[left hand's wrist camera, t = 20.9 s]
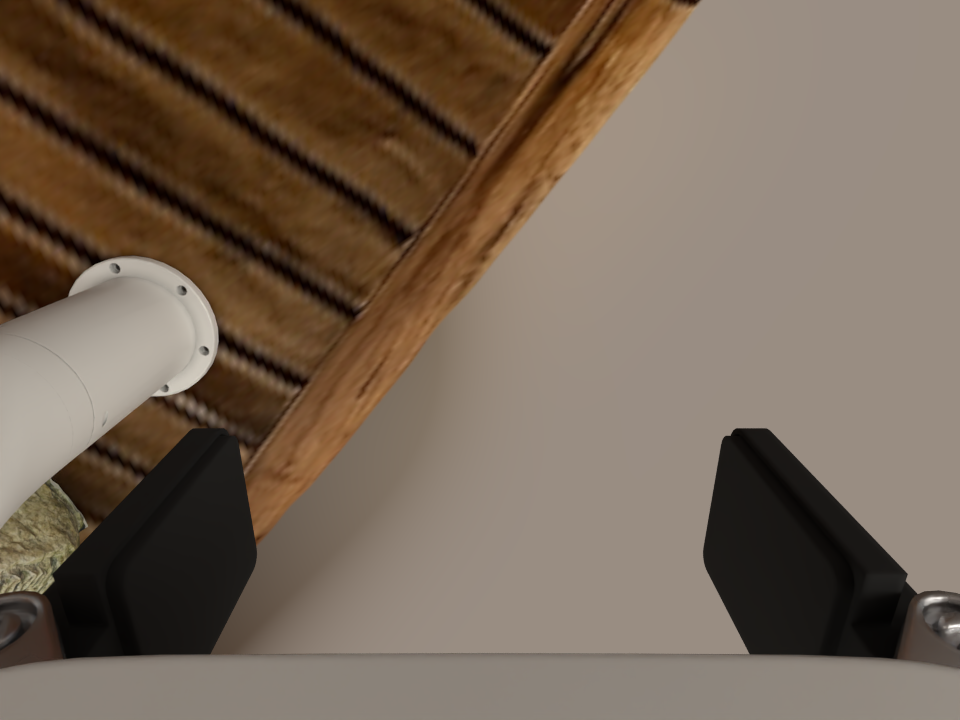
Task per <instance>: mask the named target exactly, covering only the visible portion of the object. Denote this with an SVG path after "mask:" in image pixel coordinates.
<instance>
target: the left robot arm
mask: <svg viewBox="0 0 960 720" xmlns="http://www.w3.org/2000/svg"><path fill="white" fill-rule="evenodd" d="M118 265H119V266H118ZM119 267H120V268H119ZM184 287H185V288H186V290H185V289H184ZM218 342H219V339H218V327H217V323H216V319H215V315H214V313H213V311H212V309H211V306H210V304H209V302H208V301H207V299H206V298H205V296H204V295H203V294H202V292H201V291H200V289H199V288H198V287H197V286H196V285H195V284H194V283H193V282H192V281H191V280H190V279H189V278H187V277H186V276H185V275H183V274H182V273H181V272H179V271H178V270H176V269H174V268H173V267H171V266H169V265H167V264H165V263H163V262H160V261H157V260H154V259H151V258H146V257H139V256H120V257H116V258H112V259H107V260H105V261H102V262H100V263H97V264H95V265H93V266H92V267H90V268H89V269H87V270H86V271H84V272H83V273H82V274H81V275H80V276H79V278H78V279H77V280H76V281H75V283H74V285H73V286H72V288H71V290H70V292H69V296H68V297H67V298H65V299H62V300H60V301H57V302H55V303H52V304H50V305H47V306H45V307H42V308H40V309H37V310H35V311H33V312H30V313H28V314H25V315H23V316H20V317H18V318H15V319H13V320H10V321H8V322H5V323H3V324H1V325H0V529H1V528H2V526H3V525H4V524H5V523H6V522H7V520H8V519H9V518H10V517H11V516H12V515H13V513H14V512H15V511H16V510H17V509H18V508H19V507H20V506H21V505H22V504H23V503H24V502H25V501H26V500H27V499H28V498H29V497H30V496H31V495H32V494H33V493H34V492H35V491H36V490H38V489H39V488H40V487H41V486H42V485H43V484H44V483H45V482H47V481H48V480H49V479H50V478H51V477H52V476H54V475H55V474H56V473H57V472H58V471H59V470H61V469H62V468H63V467H64V466H65V465H67V464H68V463H69V462H70V461H72V460H73V459H74V458H75V457H77V456H78V455H79V454H80V453H82V452H83V451H84V450H85V449H87V448H88V447H89V446H90V445H91V444H93V443H94V442H95V441H96V440H98V439H99V438H100V437H101V436H103V435H104V434H105V433H106V432H107V431H109V430H110V429H111V428H112V427H114V426H115V425H116V424H117V423H118V422H120V421H121V420H122V419H123V418H125V417H126V416H127V415H128V414H130V413H131V412H132V411H133V410H134V409H136V408H137V407H138V406H139V405H141V404H142V403H143V402H144V401H146V400H147V399H148V398H149V397H150V396H166V395H171V394H176V393H179V392H181V391H183V390H185V389H188V388H189V387H191V386H192V385H193V384H195V383H196V382H198V381H199V380H200V379H201V378H202V377H203V376H204V375H205V374H206V373H207V371H208V370H209V368H210V367H211V365H212V364H213V361H214V359H215V356H216V354H217V348H218ZM206 347H207V348H208V349H209V350H208V349H207V348H206ZM256 558H257V549H256V543H255V537H254V531H253V525H252V519H251V513H250V508H249V502H248V496H247V490H246V484H245V478H244V472H243V467H242V461H241V455H240V449H239V444H238V440H237V438H236V437H235V436H229V434H228V432H227V430H225V429H224V428H195V429H192V430H190V431H189V432H188V433H187V434H186V435H185V436H184V437H183V438H182V439H181V440H180V441H179V443H178V444H177V445H176V446H175V447H174V448H173V449H172V450H171V451H170V452H169V453H168V454H167V455H166V456H165V457H164V458H163V459H162V460H161V461H160V462H159V463H158V464H157V465H156V467H155V468H154V469H153V470H152V471H151V472H150V473H149V474H148V475H147V476H146V477H145V478H144V479H143V480H142V481H141V482H140V483H139V484H138V485H137V486H136V487H135V488H134V489H133V490H132V492H131V493H130V494H129V495H128V496H127V497H126V498H125V499H124V500H123V501H122V502H121V503H120V504H119V505H118V506H117V507H116V508H115V509H114V510H113V511H112V512H111V513H110V514H109V515H108V517H107V518H106V519H105V520H104V521H103V522H102V523H101V524H100V525H99V526H98V527H97V528H96V529H95V530H94V531H93V532H92V533H91V534H90V535H89V536H88V537H87V538H86V539H85V540H84V542H83V543H82V544H81V545H80V546H79V547H78V548H77V549H76V550H75V551H74V552H73V553H72V554H71V555H70V556H69V557H68V558H67V559H66V560H65V561H64V562H63V563H62V564H61V566H60V567H59V568H58V569H57V570H56V571H55V572H54V573H53V574H52V575H53V578H54V582H53V583H52V584H51V585H50V587H49V588H48V589H47V590H46V591H45V592H44V593H43V594H40V593H38V592H35V591H15V592H8V593H2V594H0V720H960V594H958V593H952V592H945V591H925V592H922V593H920V594H917V593H916V592H915V591H914V590H913V589H912V588H911V587H910V586H909V584H908V583H907V582H906V578H907V575H908V574H907V573H906V572H905V571H904V570H903V569H902V568H901V567H900V566H899V564H898V563H897V562H896V561H895V560H894V559H893V558H892V557H891V556H890V555H889V554H888V553H887V552H886V551H885V550H884V549H883V548H882V547H881V546H880V545H879V544H878V543H877V542H876V540H875V539H874V538H873V537H872V536H871V535H870V534H869V533H868V532H867V531H866V530H865V529H864V528H863V527H862V526H861V525H860V524H859V523H858V522H857V521H856V520H855V519H854V518H853V517H852V515H851V514H850V513H849V512H848V511H847V510H846V509H845V508H844V507H843V506H842V505H841V504H840V503H839V502H838V501H837V500H836V499H835V498H834V497H833V496H832V495H831V494H830V493H829V492H828V490H827V489H825V487H824V486H823V485H822V484H821V483H820V482H819V481H818V480H817V479H816V478H815V477H814V476H813V475H812V474H811V473H810V472H809V471H808V470H807V469H806V468H805V467H804V465H803V464H802V463H801V462H800V461H799V460H798V459H797V458H796V457H795V456H794V455H793V454H792V453H791V452H790V451H789V450H788V449H787V448H786V447H785V446H784V445H783V444H782V443H781V441H780V440H779V439H778V438H777V437H776V436H775V435H774V434H773V433H772V432H771V431H770V430H768V429H765V428H737V429H735V430H733V432H732V434H731V436H725V437H724V438H723V440H722V444H721V449H720V455H719V461H718V467H717V473H716V478H715V484H714V490H713V496H712V502H711V508H710V513H709V519H708V525H707V531H706V537H705V543H704V549H703V558H704V564H705V567H706V570H707V572H708V574H709V576H710V578H711V580H712V582H713V584H714V585H715V587H716V589H717V591H718V593H719V595H720V597H721V599H722V601H723V603H724V605H725V607H726V609H727V611H728V613H729V615H730V617H731V619H732V621H733V622H734V624H735V626H736V628H737V630H738V632H739V634H740V636H741V638H742V640H743V642H744V644H745V646H746V648H747V650H748V652H749V654H560V653H556V654H555V653H430V654H429V653H425V654H424V653H422V654H216V655H215V654H212V655H210V654H211V652H212V650H213V648H214V646H215V644H216V642H217V640H218V638H219V636H220V634H221V632H222V630H223V628H224V626H225V624H226V623H227V621H228V619H229V617H230V615H231V613H232V611H233V609H234V607H235V605H236V603H237V601H238V599H239V597H240V595H241V593H242V591H243V589H244V587H245V585H246V584H247V581H248V580H249V578H250V576H251V574H252V572H253V570H254V567H255V564H256Z"/></svg>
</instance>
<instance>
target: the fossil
mask: <svg viewBox="0 0 960 720" xmlns="http://www.w3.org/2000/svg"><path fill="white" fill-rule="evenodd" d="M86 527H88V525H87V523H86V521H85V519H84V517H83V515H82V513H81V512H80V511H79V510H78V509H77V508H76V507H75V505H74V504H73V503H72V501H71V500H70V498H69V497H68V496H67V495H66V494H65V493H64V492H63V490H62V489H61V488H60V487H59V485H58V484H57V483H55V482H54V481H52V479H51V478H50V479H49V480H48V481H47V482H45V483H44V484H43V485H42V486H41V487H40V488H39V489H38V490H36V491H35V492H34V493H33V494H32V495H31V496H30V497H29V498H28V499H27V500H26V501H25V502H24V503H23V504H22V505H21V506H20V507H19V508H18V509H17V510H16V511H15V512H14V513H13V515H12V516H11V517H10V518H9V519H8V520H7V522H6V523H5V524H4V525H3V526H2V528H1V529H0V594H2V593H8V592H15V591H35V592H38V593H40V594H43V593H44V592H45V591H46V590H47V589H48V588H49V587H50V585H51V584H52V583H53V582H54V578H53V575H52V574H53V573H54V572H55V571H56V570H57V569H58V568H59V567H60V566H61V564H62V563H63V562H64V561H65V560H66V559H67V558H68V557H69V556H70V555H71V554H72V553H73V552H74V551H75V550H76V549H77V548H78V547H79V532H80V531H82V530H83V529H85V528H86Z"/></svg>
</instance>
